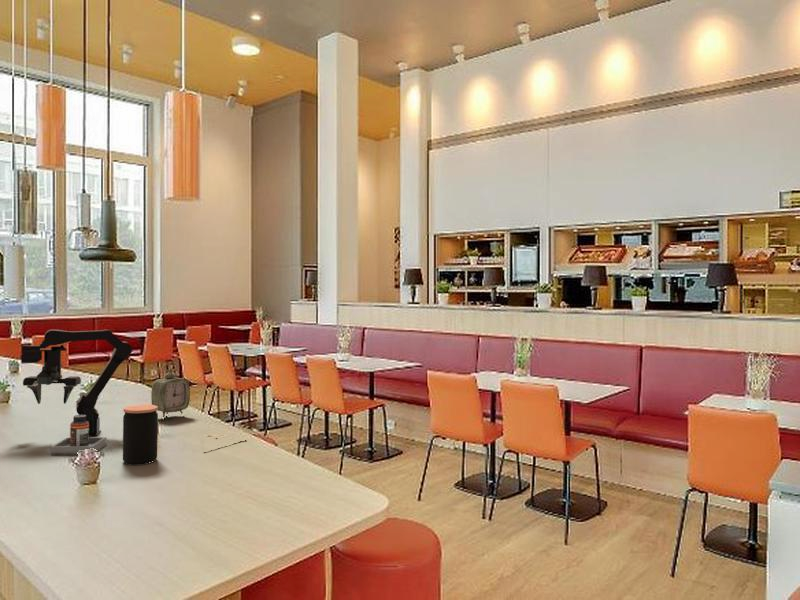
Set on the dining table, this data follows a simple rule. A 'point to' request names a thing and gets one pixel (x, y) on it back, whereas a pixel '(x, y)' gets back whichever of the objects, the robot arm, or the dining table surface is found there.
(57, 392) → the dining table surface
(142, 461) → the coffee jar
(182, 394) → the tabletop clock
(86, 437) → the supplement bottle
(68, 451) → the tray
